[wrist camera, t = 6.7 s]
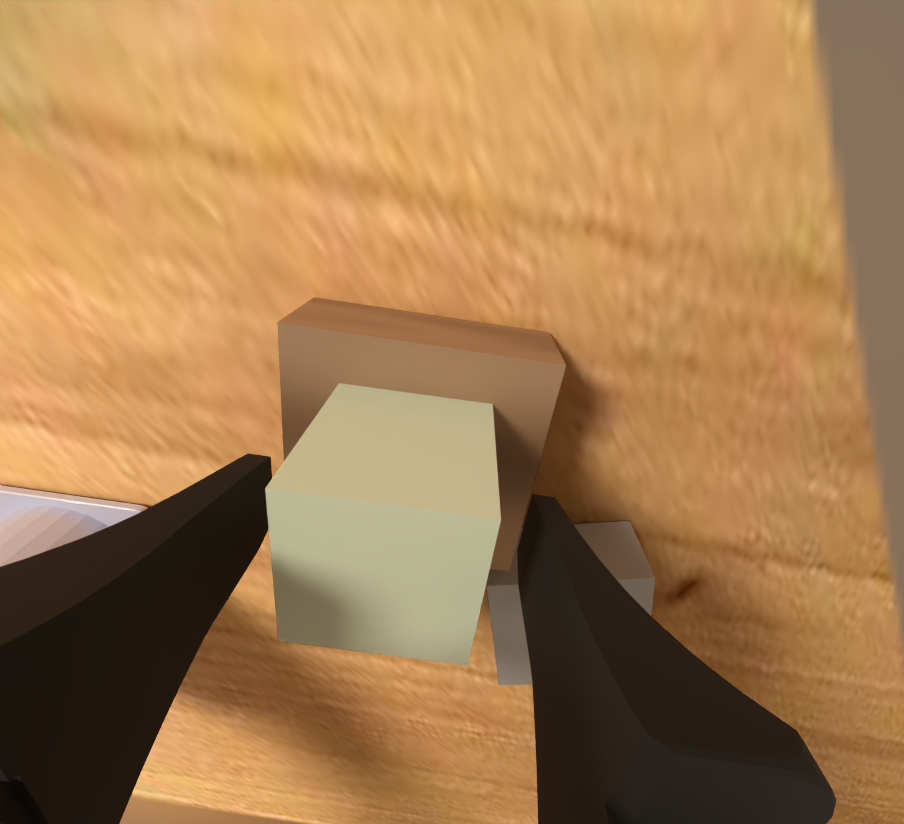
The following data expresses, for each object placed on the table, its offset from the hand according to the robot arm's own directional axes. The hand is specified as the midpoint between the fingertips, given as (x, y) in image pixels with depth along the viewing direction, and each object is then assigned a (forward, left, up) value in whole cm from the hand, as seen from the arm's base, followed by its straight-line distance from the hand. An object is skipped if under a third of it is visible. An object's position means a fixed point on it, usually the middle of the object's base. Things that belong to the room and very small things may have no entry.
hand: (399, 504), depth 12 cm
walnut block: (0, 0, -5) cm, 5 cm away
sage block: (0, 0, -2) cm, 2 cm away
